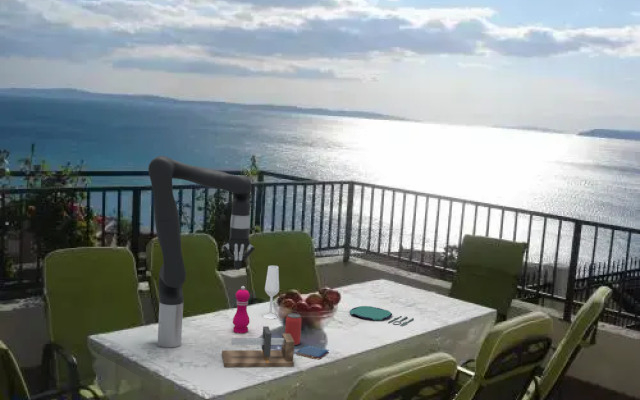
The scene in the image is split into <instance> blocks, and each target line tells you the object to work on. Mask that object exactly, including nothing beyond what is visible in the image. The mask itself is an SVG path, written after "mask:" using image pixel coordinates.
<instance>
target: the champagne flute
mask: <svg viewBox="0 0 640 400" xmlns="http://www.w3.org/2000/svg"><path fill="white" fill-rule="evenodd" d="M267 266H268V267H267V272H266V280H265V286H264V291H265V293H266V294H267V295H268V296H269V297H270V298H269V309H268V310H269V312H268V313H266V314H265V315H263V316H262V317H263V318H264V319H267V318H268V320H269V319H270V320H273V319H274V318H275V319H277V318H278V316H277V315H276V314H274V313H273V301H274V300H273V297H275V296H277V294H278V293H279V292H280V278H279V277H280V276H279V275H280V273H279V272H280V271H279V269H280V268H279V266H278V265H267Z"/></svg>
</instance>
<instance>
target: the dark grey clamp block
mask: <svg viewBox="0 0 640 400" xmlns="http://www.w3.org/2000/svg"><path fill="white" fill-rule="evenodd" d="M262 338H265V343H264V345H261V350H262V351H263V353H264V356H265V357H270V350H272V349H271V347H272V345H271V338H272V332H271V328H270V326H262Z"/></svg>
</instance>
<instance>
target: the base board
mask: <svg viewBox="0 0 640 400" xmlns="http://www.w3.org/2000/svg"><path fill="white" fill-rule="evenodd" d="M281 338H284V339H285V345H281V349H280V350H279V349H276V350H274V349H273V350H272V349H271V350H270V357H265V356H264V353H263V351H262V349H260V350H258V349H257V350H249V349H248V350H244V349H243V350H241V349H240V350H221V357H222V360H223V361H222V363H223V367H224V368H273V367H274V368H284V367H286V368H287V367H289V368H290V367H294V366H295V362H294V354H295V353H294V351H295V345H294V340H293V338H292V336H291V334H285V333H282V336H281Z"/></svg>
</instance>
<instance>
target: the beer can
mask: <svg viewBox="0 0 640 400" xmlns="http://www.w3.org/2000/svg"><path fill="white" fill-rule="evenodd" d="M302 321H303V320H302V315H300V314H299V313H295V312H294V313H288V314H287V316H286V318H285V325H284V327H285V329H284V334H291V336H292V338H293V340H294V346H299V345H300V343H301V337H302V336H301V335H302V334H301V333H302Z"/></svg>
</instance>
